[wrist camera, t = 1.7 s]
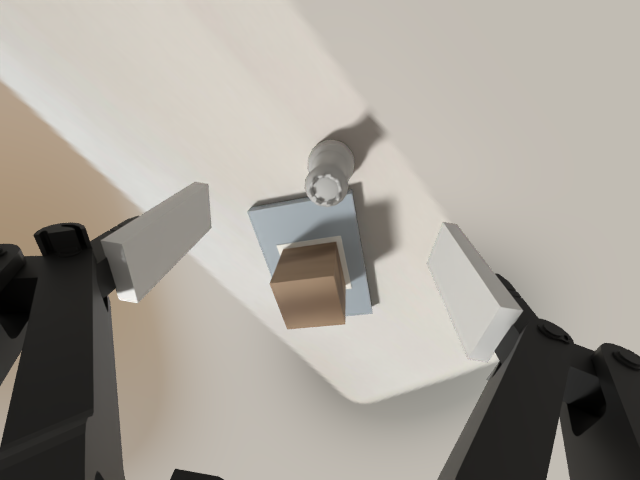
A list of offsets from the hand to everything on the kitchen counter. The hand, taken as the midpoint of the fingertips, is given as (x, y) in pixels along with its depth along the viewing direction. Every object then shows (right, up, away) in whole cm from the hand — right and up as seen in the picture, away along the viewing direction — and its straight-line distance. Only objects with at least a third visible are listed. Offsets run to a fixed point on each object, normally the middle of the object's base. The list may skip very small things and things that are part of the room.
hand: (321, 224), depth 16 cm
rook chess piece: (+1, +7, +11) cm, 13 cm away
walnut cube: (-1, -4, +16) cm, 16 cm away
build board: (-1, -3, +17) cm, 17 cm away
